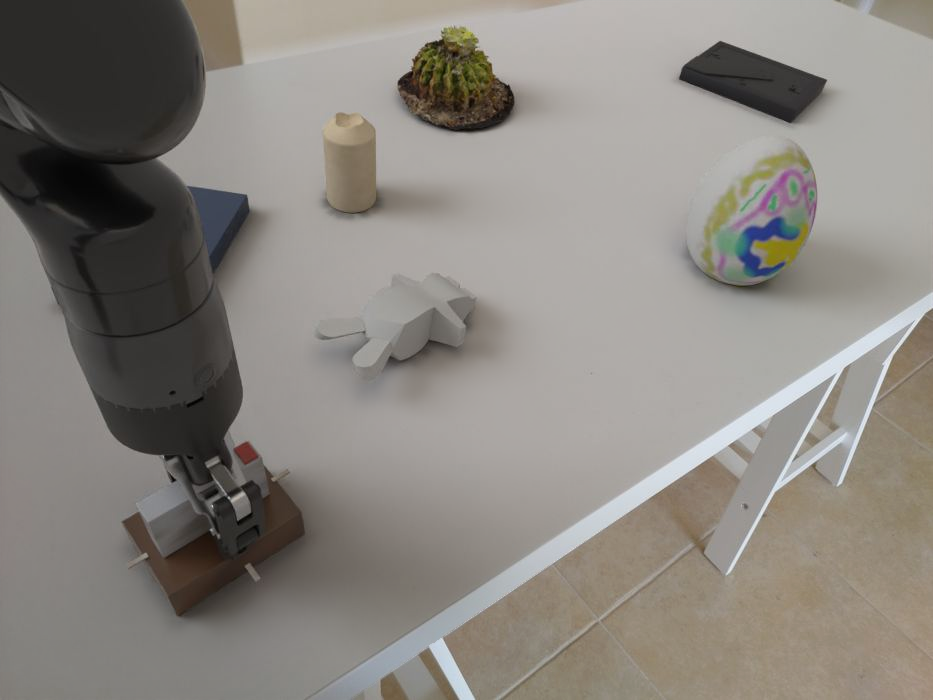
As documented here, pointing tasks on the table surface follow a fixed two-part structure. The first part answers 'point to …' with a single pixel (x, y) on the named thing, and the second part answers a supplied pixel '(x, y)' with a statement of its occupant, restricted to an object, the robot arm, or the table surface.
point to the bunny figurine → (404, 321)
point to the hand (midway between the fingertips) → (212, 514)
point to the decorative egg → (752, 211)
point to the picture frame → (753, 80)
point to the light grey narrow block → (176, 518)
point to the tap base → (214, 552)
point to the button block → (218, 219)
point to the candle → (350, 162)
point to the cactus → (455, 84)
